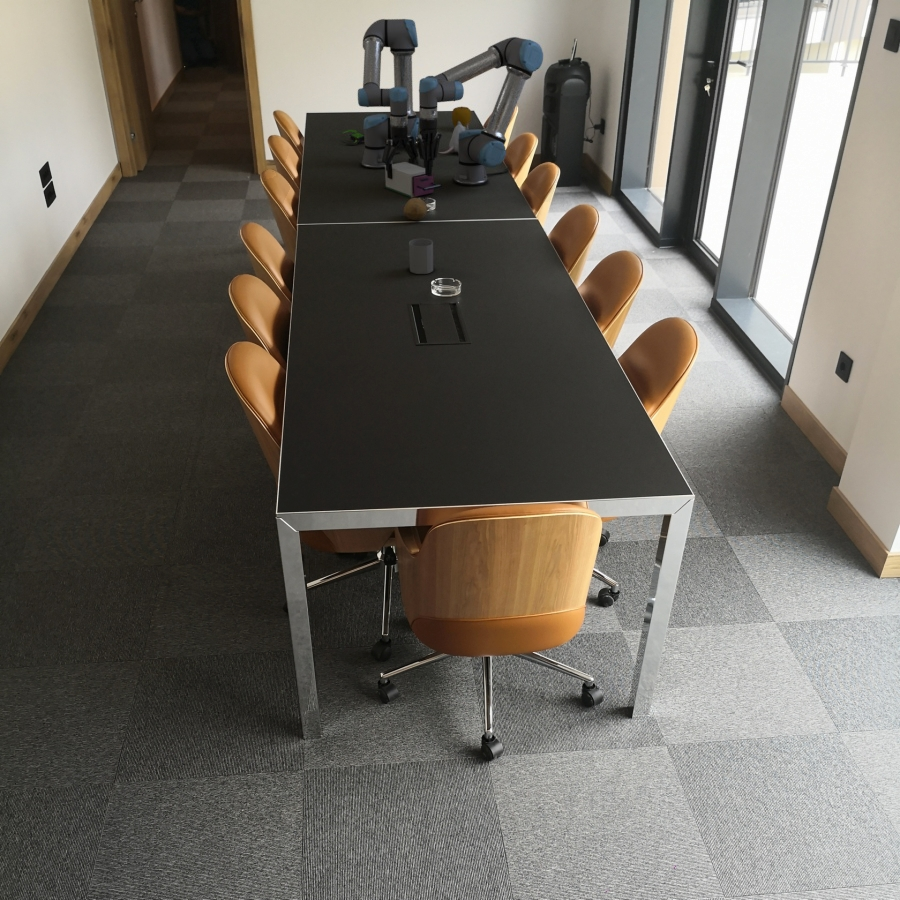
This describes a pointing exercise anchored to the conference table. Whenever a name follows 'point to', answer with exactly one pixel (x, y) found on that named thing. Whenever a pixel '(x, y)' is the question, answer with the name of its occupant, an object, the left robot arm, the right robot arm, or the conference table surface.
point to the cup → (421, 256)
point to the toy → (455, 139)
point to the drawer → (423, 185)
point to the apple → (461, 116)
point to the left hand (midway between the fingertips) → (400, 176)
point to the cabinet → (403, 178)
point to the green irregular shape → (354, 137)
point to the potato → (415, 209)
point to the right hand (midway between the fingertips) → (428, 175)
